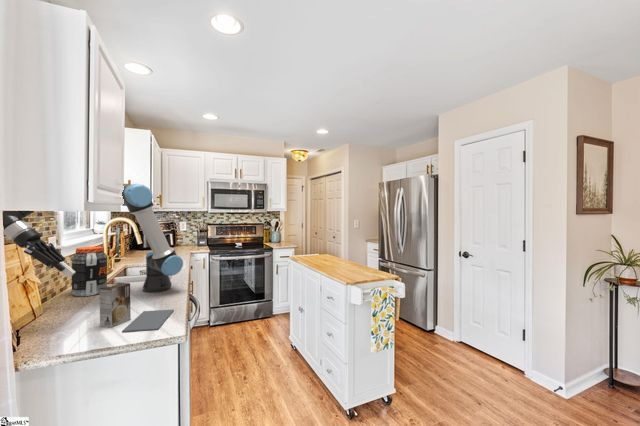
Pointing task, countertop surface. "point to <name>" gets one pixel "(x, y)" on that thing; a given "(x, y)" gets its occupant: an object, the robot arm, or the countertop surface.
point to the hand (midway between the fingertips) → (71, 274)
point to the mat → (149, 321)
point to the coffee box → (114, 304)
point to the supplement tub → (89, 271)
